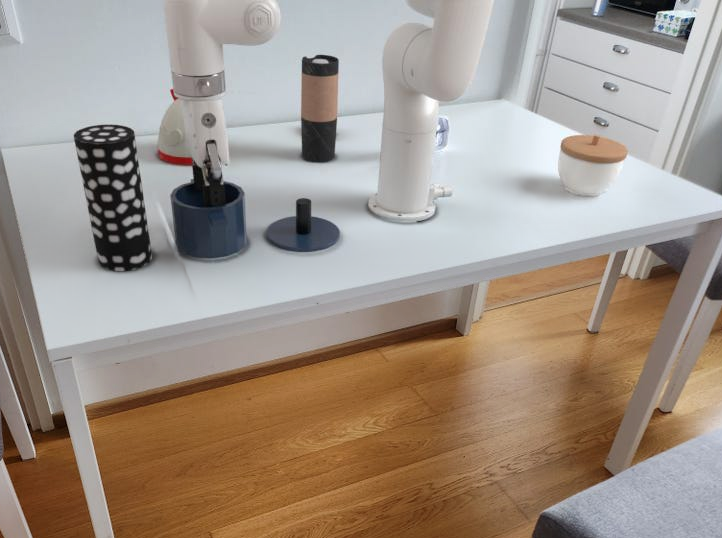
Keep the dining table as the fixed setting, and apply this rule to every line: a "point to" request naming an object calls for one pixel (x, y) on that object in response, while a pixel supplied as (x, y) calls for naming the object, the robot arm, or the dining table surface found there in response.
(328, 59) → the travel mug
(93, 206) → the spotted tube
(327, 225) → the lid
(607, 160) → the lidded bowl
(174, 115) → the kitchen timer
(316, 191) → the dining table surface
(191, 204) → the pot
